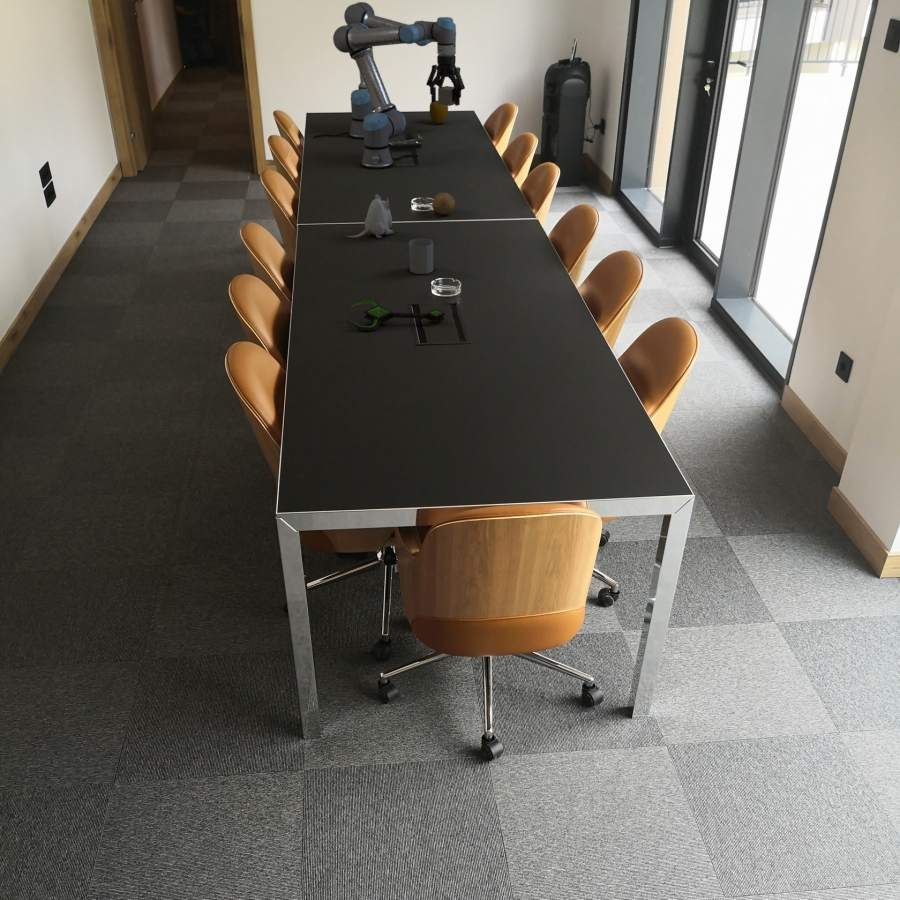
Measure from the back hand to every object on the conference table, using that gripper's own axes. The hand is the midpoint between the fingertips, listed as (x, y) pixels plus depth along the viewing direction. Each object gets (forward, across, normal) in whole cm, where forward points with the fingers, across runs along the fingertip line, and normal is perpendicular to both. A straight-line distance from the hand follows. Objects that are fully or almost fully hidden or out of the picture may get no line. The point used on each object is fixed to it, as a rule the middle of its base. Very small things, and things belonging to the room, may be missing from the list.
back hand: (448, 100), depth 471 cm
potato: (+18, +74, -120) cm, 142 cm away
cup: (+18, +102, -178) cm, 207 cm away
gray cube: (+2, 0, 0) cm, 2 cm away
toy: (+18, +66, -161) cm, 175 cm away
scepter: (+18, +122, -220) cm, 252 cm away
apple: (+18, -20, +22) cm, 35 cm away
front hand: (-11, +34, -56) cm, 66 cm away
